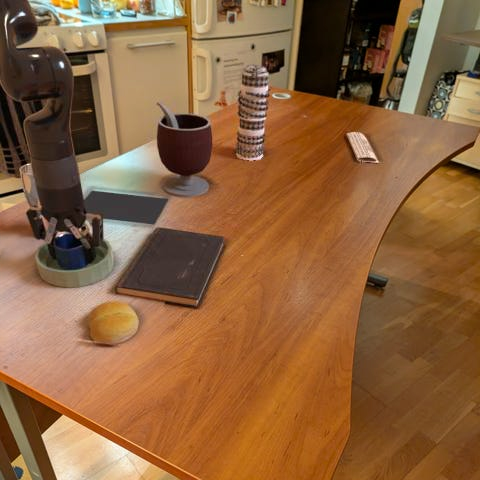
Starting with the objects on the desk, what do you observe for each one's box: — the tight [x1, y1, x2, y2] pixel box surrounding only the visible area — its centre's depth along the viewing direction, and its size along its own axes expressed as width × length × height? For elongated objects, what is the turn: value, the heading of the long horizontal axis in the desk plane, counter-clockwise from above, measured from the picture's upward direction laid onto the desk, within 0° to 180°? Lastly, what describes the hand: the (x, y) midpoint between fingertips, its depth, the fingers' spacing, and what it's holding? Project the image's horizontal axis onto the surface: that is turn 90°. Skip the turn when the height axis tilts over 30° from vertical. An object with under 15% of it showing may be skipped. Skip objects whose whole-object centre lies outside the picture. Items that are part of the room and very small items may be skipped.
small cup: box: [53, 232, 88, 270], centre depth 90 cm, size 6×6×5 cm
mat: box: [84, 190, 169, 225], centre depth 112 cm, size 20×16×1 cm
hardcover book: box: [114, 226, 226, 309], centre depth 93 cm, size 16×23×2 cm
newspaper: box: [346, 131, 380, 164], centre depth 153 cm, size 24×7×2 cm, turn 178°
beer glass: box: [19, 162, 67, 237], centre depth 97 cm, size 7×7×15 cm
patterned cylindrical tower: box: [235, 64, 271, 162], centre depth 136 cm, size 9×9×25 cm
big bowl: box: [34, 238, 114, 289], centre depth 91 cm, size 14×14×4 cm
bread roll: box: [87, 300, 140, 345], centre depth 78 cm, size 8×9×4 cm
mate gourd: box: [156, 101, 213, 198], centre depth 118 cm, size 16×14×20 cm
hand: (73, 259), depth 91 cm, fingers closed on small cup, 6 cm apart
